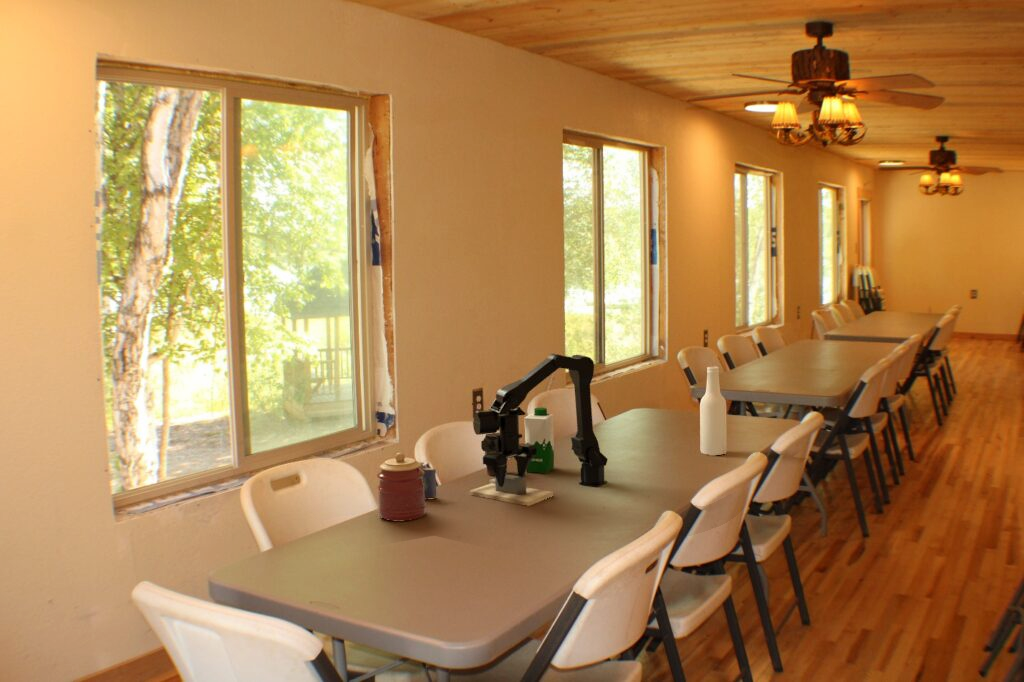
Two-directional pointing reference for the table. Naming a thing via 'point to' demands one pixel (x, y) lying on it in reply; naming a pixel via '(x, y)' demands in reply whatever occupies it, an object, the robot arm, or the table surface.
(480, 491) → the birch board
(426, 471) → the flask
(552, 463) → the milk carton
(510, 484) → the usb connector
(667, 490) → the table surface
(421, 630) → the table surface
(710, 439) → the alcohol
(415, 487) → the canister
